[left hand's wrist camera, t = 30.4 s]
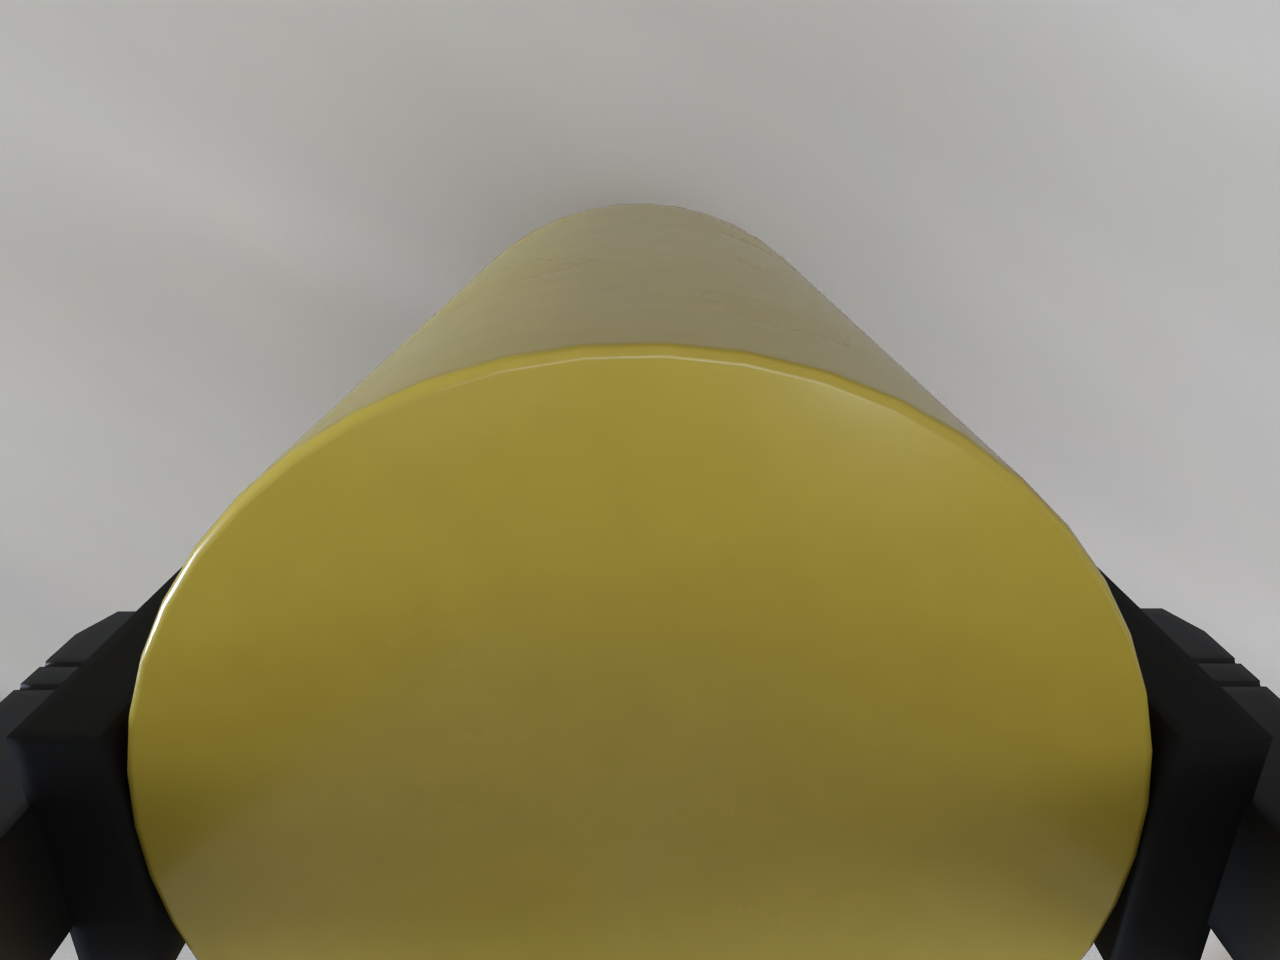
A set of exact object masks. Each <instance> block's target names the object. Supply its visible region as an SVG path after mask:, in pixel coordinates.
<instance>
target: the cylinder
mask: <svg viewBox="0 0 1280 960" xmlns="http://www.w3.org/2000/svg"><path fill="white" fill-rule="evenodd" d="M1151 762H1152V742H1151V732H1150V722H1149V711H1148V701H1147V693H1146V688H1145V684H1144V680H1143V677H1142V673H1141V669H1140V666H1139V662H1138V658H1137V655H1136V651H1135V648H1134V644H1133V640H1132V637H1131V633H1130V631H1129V629H1128V627H1127V625H1126V623H1125V620H1124V618H1123V616H1122V614H1121V612H1120V610H1119V608H1118V606H1117V603H1116V601H1115V599H1114V597H1113V595H1112V593H1111V591H1110V588H1109V586H1108V584H1107V582H1106V580H1105V578H1104V577H1103V575H1102V574H1101V572H1100V571H1099V569H1098V568H1097V567H1096V565H1095V564H1094V562H1093V561H1092V559H1091V558H1090V556H1089V555H1088V554H1087V552H1086V551H1085V549H1084V548H1083V546H1082V545H1081V543H1080V542H1079V541H1078V539H1077V538H1076V536H1075V535H1074V533H1073V532H1072V530H1071V529H1070V527H1069V526H1068V525H1067V524H1066V523H1065V522H1064V521H1063V520H1062V519H1061V518H1060V517H1059V516H1058V515H1057V514H1056V513H1055V512H1054V510H1053V509H1052V508H1051V507H1050V506H1049V505H1048V504H1047V503H1046V502H1045V501H1044V500H1043V499H1042V498H1041V497H1040V496H1039V495H1038V494H1037V493H1036V492H1035V491H1034V490H1033V489H1032V488H1031V486H1030V485H1029V484H1028V483H1027V482H1026V481H1025V480H1024V479H1023V478H1022V477H1021V476H1020V475H1019V474H1018V473H1016V472H1015V471H1014V470H1013V469H1012V468H1011V467H1010V466H1009V465H1008V464H1007V463H1006V462H1004V461H1003V460H1002V459H1001V458H1000V457H999V456H998V455H997V454H996V453H995V452H994V451H993V450H991V449H990V448H989V447H988V446H987V445H986V444H985V443H984V442H983V441H982V440H981V439H979V438H978V437H977V436H976V435H975V434H974V433H973V432H972V431H971V430H970V429H969V428H968V427H966V426H965V425H964V424H963V423H962V422H961V421H960V420H959V419H958V418H957V417H956V416H954V415H953V414H952V413H951V412H950V411H949V410H948V409H947V408H946V407H945V406H944V405H942V404H941V403H940V402H939V401H938V400H937V399H936V398H935V397H934V396H933V395H932V394H931V393H929V392H928V391H927V390H926V389H925V388H924V387H923V386H922V385H921V384H920V383H919V382H917V381H916V380H915V379H914V378H913V377H912V376H911V375H910V374H909V373H908V372H907V371H906V370H904V369H903V368H902V367H901V366H900V365H899V364H898V363H897V362H896V361H895V360H894V359H892V358H891V357H890V356H889V355H888V354H887V353H886V352H885V351H884V350H883V349H882V348H880V347H879V346H878V345H877V344H876V343H875V342H874V341H873V340H872V339H871V338H870V337H869V336H867V335H866V334H865V333H864V332H863V331H862V330H861V329H860V328H859V327H858V326H857V325H855V324H854V323H853V322H852V321H851V320H850V319H849V318H848V317H847V316H846V315H845V314H843V313H842V312H841V311H840V310H839V309H838V308H837V307H836V306H835V305H834V304H833V303H832V302H830V301H829V300H828V299H827V298H826V297H825V296H824V295H823V294H822V293H821V292H820V291H818V290H817V289H816V288H815V287H814V286H813V285H812V284H811V283H810V282H809V281H808V280H807V279H805V278H804V277H803V276H802V275H801V274H800V273H799V272H798V271H797V270H796V269H795V268H793V267H792V266H791V265H790V264H789V263H788V262H787V261H786V260H785V259H784V258H783V257H781V256H780V255H779V254H777V253H776V252H775V251H774V250H772V249H771V248H770V247H768V246H767V245H766V244H765V243H763V242H762V241H761V240H759V239H757V238H756V237H754V236H752V235H750V234H749V233H747V232H745V231H743V230H742V229H740V228H738V227H737V226H735V225H732V224H730V223H727V222H725V221H722V220H720V219H718V218H715V217H713V216H710V215H708V214H704V213H700V212H696V211H692V210H688V209H684V208H680V207H673V206H664V205H655V204H622V205H613V206H607V207H601V208H595V209H589V210H586V211H583V212H579V213H576V214H573V215H570V216H567V217H563V218H560V219H558V220H556V221H554V222H552V223H550V224H548V225H545V226H543V227H541V228H539V229H537V230H535V231H533V232H531V233H530V234H528V235H527V236H525V237H524V238H522V239H521V240H519V241H518V242H516V243H515V244H513V245H511V246H510V247H509V248H508V249H506V250H505V251H504V252H503V253H502V254H501V255H500V256H498V257H497V258H496V259H495V260H494V261H493V262H491V263H490V264H489V265H488V266H487V267H486V268H485V269H484V270H483V271H482V272H480V273H479V274H478V275H477V276H476V277H475V278H474V279H473V280H472V281H471V282H470V283H468V284H467V285H466V286H465V287H464V288H463V289H462V290H461V291H460V292H459V293H458V294H457V295H455V296H454V297H453V298H452V299H451V300H450V301H449V302H448V303H447V304H446V305H445V306H444V307H442V308H441V309H440V310H439V311H438V312H437V313H436V314H435V315H434V316H433V317H432V318H431V319H429V320H428V321H427V322H426V323H425V324H424V325H423V326H422V327H421V328H420V329H419V330H417V331H416V332H415V333H414V334H413V335H412V336H411V337H410V338H409V339H408V340H407V341H406V342H404V343H403V344H402V345H401V346H400V347H399V348H398V349H397V350H396V351H395V352H394V353H393V354H391V355H390V356H389V357H388V358H387V359H386V360H385V361H384V362H383V363H382V364H381V365H379V366H378V367H377V368H376V369H375V370H374V371H373V372H372V373H371V374H370V375H369V376H368V377H366V378H365V379H364V380H363V381H362V382H361V383H360V384H359V385H358V386H357V387H356V388H355V389H353V390H352V391H351V392H350V393H349V394H348V395H347V396H346V397H345V398H344V399H343V400H341V401H340V402H339V403H338V404H337V405H336V406H335V407H334V408H333V409H332V410H331V411H330V412H328V413H327V414H326V415H325V416H324V417H323V418H322V419H321V420H320V421H319V422H318V423H317V424H315V425H314V426H313V427H312V428H311V429H310V430H309V431H308V432H307V433H306V434H305V435H304V436H302V437H301V438H300V439H299V440H298V441H297V442H296V443H295V444H294V445H293V446H292V447H290V448H289V449H288V450H287V451H286V452H285V453H284V454H283V455H282V456H281V457H280V458H279V459H277V460H276V461H275V462H274V463H273V464H272V465H271V466H270V467H269V468H268V469H267V470H266V471H264V472H263V473H262V474H261V475H260V476H259V477H258V478H257V479H256V480H255V481H254V482H252V483H251V484H250V485H249V486H248V487H247V488H246V489H245V490H244V491H243V492H242V493H241V494H239V495H238V496H237V498H236V499H235V500H234V501H233V502H232V503H231V505H230V506H229V507H228V508H227V509H226V511H225V512H224V513H223V514H222V515H221V516H220V518H219V519H218V520H217V521H216V522H215V524H214V525H213V526H212V527H211V528H210V529H209V531H208V532H207V533H206V534H205V535H204V537H203V538H202V539H201V540H200V541H199V542H198V544H197V545H196V546H195V547H194V549H193V551H192V552H191V554H190V556H189V557H188V559H187V561H186V562H185V564H184V566H183V567H182V569H181V571H180V572H179V574H178V576H177V577H176V579H175V581H174V582H173V584H172V586H171V587H170V589H169V591H168V592H167V594H166V596H165V597H164V599H163V601H162V604H161V606H160V609H159V611H158V614H157V616H156V619H155V621H154V624H153V627H152V629H151V632H150V634H149V637H148V639H147V642H146V644H145V647H144V650H143V652H142V655H141V659H140V664H139V669H138V673H137V678H136V683H135V688H134V693H133V698H132V703H131V708H130V713H129V728H128V761H127V775H128V782H129V789H130V796H131V804H132V811H133V818H134V825H135V829H136V832H137V835H138V838H139V842H140V845H141V848H142V852H143V855H144V858H145V861H146V865H147V868H148V871H149V874H150V877H151V879H152V881H153V883H154V885H155V887H156V889H157V891H158V894H159V896H160V898H161V900H162V902H163V904H164V906H165V908H166V910H167V912H168V914H169V917H170V919H171V921H172V923H173V924H174V926H175V927H176V929H177V930H178V932H179V933H180V935H181V936H182V938H183V939H184V941H185V942H186V944H187V945H188V947H189V948H190V950H191V951H192V953H193V954H194V956H195V957H196V959H197V960H1082V958H1083V957H1084V956H1085V955H1086V953H1087V952H1088V951H1089V950H1090V948H1091V946H1092V945H1093V943H1094V941H1095V940H1096V938H1097V936H1098V934H1099V933H1100V931H1101V929H1102V928H1103V926H1104V924H1105V923H1106V921H1107V919H1108V917H1109V916H1110V914H1111V912H1112V911H1113V909H1114V907H1115V906H1116V904H1117V901H1118V899H1119V896H1120V894H1121V892H1122V889H1123V887H1124V884H1125V882H1126V879H1127V877H1128V874H1129V872H1130V870H1131V867H1132V865H1133V862H1134V860H1135V857H1136V854H1137V850H1138V846H1139V842H1140V838H1141V833H1142V829H1143V825H1144V821H1145V817H1146V813H1147V808H1148V804H1149V790H1150V776H1151Z"/></svg>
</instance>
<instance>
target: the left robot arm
mask: <svg viewBox="0 0 1280 960" xmlns="http://www.w3.org/2000/svg"><path fill="white" fill-rule="evenodd" d="M1096 567H1097V566H1096ZM1097 568H1098V567H1097ZM181 569H182V568H181ZM181 569H180V570H179V571H178V572H177V573H176V574H174V575H173V576H172V577H171V578H170V579H169V580H168V581H167V582H166V583H165V584H164V585H163V586H162V587H161V588H160V589H159V590H158V591H157V592H156V593H155V594H154V595H153V596H152V597H151V598H150V599H149V600H148V601H147V602H146V603H144V604H143V605H142V606H141V607H140V608H139V609H138V610H137V611H136V612H116V613H115V614H113V615H111V616H109V617H107V618H105V619H103V620H102V621H100V622H98V623H96V624H94V625H92V626H90V627H89V628H87V629H85V630H83V631H81V632H79V633H78V634H76V635H74V636H73V637H72V638H71V639H70V640H69V641H68V642H67V643H66V644H64V645H63V646H62V647H61V648H60V649H59V650H58V651H57V652H56V653H55V654H53V655H52V656H51V657H50V658H49V659H48V660H47V661H46V665H45V667H39V668H38V669H37V670H36V671H35V672H33V673H32V674H31V675H30V676H29V677H28V678H27V679H26V680H25V681H24V682H22V683H21V687H20V690H14V691H12V692H11V693H10V694H9V695H8V696H7V697H6V698H5V699H4V700H3V701H1V702H0V960H50V959H51V957H52V956H53V954H54V953H55V952H56V950H57V949H58V947H59V946H60V944H61V943H62V942H63V940H64V939H65V937H66V936H67V935H68V933H69V932H70V934H71V937H72V940H73V943H74V946H75V949H76V952H77V955H78V959H79V960H176V959H177V957H178V955H179V953H180V951H181V950H182V948H183V946H184V944H185V941H184V939H183V938H182V936H181V935H180V933H179V932H178V930H177V929H176V927H175V926H174V924H173V923H172V921H171V919H170V917H169V914H168V912H167V910H166V908H165V906H164V904H163V902H162V900H161V898H160V896H159V894H158V891H157V889H156V887H155V885H154V883H153V881H152V879H151V877H150V874H149V871H148V868H147V865H146V861H145V858H144V855H143V852H142V848H141V845H140V842H139V838H138V835H137V832H136V829H135V825H134V818H133V811H132V804H131V796H130V789H129V782H128V775H127V761H128V728H129V713H130V708H131V703H132V698H133V693H134V688H135V683H136V678H137V673H138V669H139V664H140V659H141V655H142V652H143V650H144V647H145V644H146V642H147V639H148V637H149V634H150V632H151V629H152V627H153V624H154V621H155V619H156V616H157V614H158V611H159V609H160V606H161V604H162V601H163V599H164V597H165V596H166V594H167V592H168V591H169V589H170V587H171V586H172V584H173V582H174V581H175V579H176V577H177V576H178V574H179V572H180V571H181ZM1098 569H1099V568H1098ZM1099 571H1100V572H1101V574H1102V575H1103V577H1104V578H1105V580H1106V582H1107V584H1108V586H1109V588H1110V591H1111V593H1112V595H1113V597H1114V599H1115V601H1116V603H1117V606H1118V608H1119V610H1120V612H1121V614H1122V616H1123V618H1124V620H1125V623H1126V625H1127V627H1128V629H1129V631H1130V633H1131V637H1132V640H1133V644H1134V648H1135V651H1136V655H1137V658H1138V662H1139V666H1140V669H1141V673H1142V677H1143V680H1144V684H1145V688H1146V693H1147V701H1148V711H1149V722H1150V732H1151V742H1152V762H1151V776H1150V790H1149V804H1148V808H1147V813H1146V817H1145V821H1144V825H1143V829H1142V833H1141V838H1140V842H1139V846H1138V850H1137V854H1136V857H1135V860H1134V862H1133V865H1132V867H1131V870H1130V872H1129V874H1128V877H1127V879H1126V882H1125V884H1124V887H1123V889H1122V892H1121V894H1120V896H1119V899H1118V901H1117V904H1116V906H1115V907H1114V909H1113V911H1112V912H1111V914H1110V916H1109V917H1108V919H1107V921H1106V923H1105V924H1104V926H1103V928H1102V929H1101V931H1100V933H1099V934H1098V936H1097V938H1096V940H1095V941H1094V944H1095V945H1096V947H1097V949H1098V951H1099V953H1100V954H1101V956H1102V958H1103V960H1200V959H1201V956H1202V953H1203V950H1204V947H1205V944H1206V941H1207V938H1208V935H1209V932H1210V929H1212V931H1213V932H1214V933H1215V935H1216V936H1217V938H1218V939H1219V940H1220V942H1221V943H1222V945H1223V946H1224V947H1225V949H1226V950H1227V952H1228V953H1229V955H1230V956H1231V957H1232V959H1233V960H1280V699H1279V698H1278V697H1277V696H1276V695H1275V694H1274V693H1273V692H1272V691H1271V690H1269V689H1268V688H1267V687H1261V686H1260V681H1259V680H1258V679H1257V678H1256V677H1255V676H1254V675H1253V674H1252V673H1250V672H1249V671H1248V670H1247V669H1246V668H1245V667H1244V666H1243V665H1242V664H1235V661H1234V660H1235V658H1234V657H1233V656H1232V655H1230V654H1229V653H1228V652H1227V651H1226V650H1225V649H1224V648H1223V647H1221V646H1220V645H1219V644H1218V643H1217V642H1216V641H1215V640H1214V639H1213V638H1211V637H1210V636H1209V635H1208V634H1207V633H1206V632H1205V631H1203V630H1201V629H1199V628H1197V627H1195V626H1194V625H1192V624H1190V623H1188V622H1186V621H1184V620H1182V619H1181V618H1179V617H1177V616H1175V615H1173V614H1171V613H1169V612H1167V611H1166V610H1164V609H1140V608H1139V607H1138V606H1137V605H1136V604H1135V603H1134V602H1133V601H1132V600H1131V599H1130V598H1129V597H1128V596H1127V595H1126V594H1124V593H1123V592H1122V591H1121V590H1120V589H1119V588H1118V587H1117V586H1116V585H1115V584H1114V583H1113V582H1112V581H1111V580H1110V579H1109V578H1108V577H1107V576H1106V575H1105V574H1104V573H1103V572H1102V571H1101V570H1100V569H1099Z"/></svg>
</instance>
